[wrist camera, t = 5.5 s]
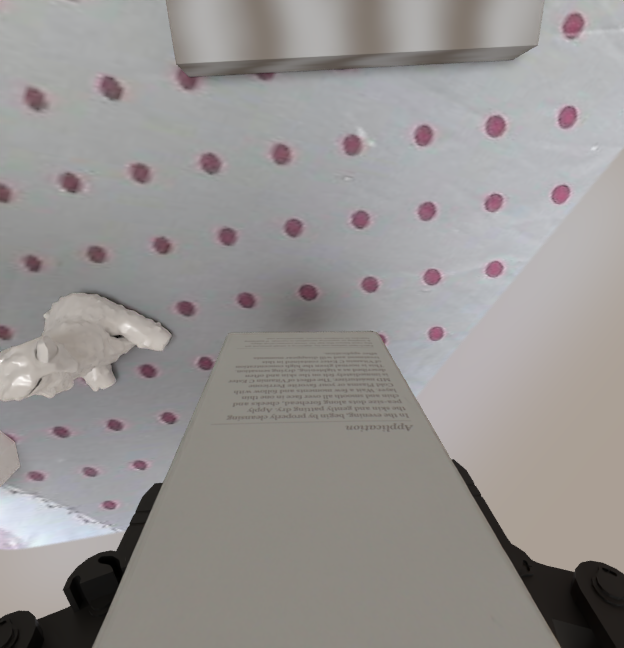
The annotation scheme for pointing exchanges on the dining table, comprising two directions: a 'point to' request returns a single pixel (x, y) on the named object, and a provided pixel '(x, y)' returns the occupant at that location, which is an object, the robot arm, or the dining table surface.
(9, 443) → the mug
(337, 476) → the small box
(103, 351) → the sitting furry creature
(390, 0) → the wall board
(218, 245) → the dining table surface
